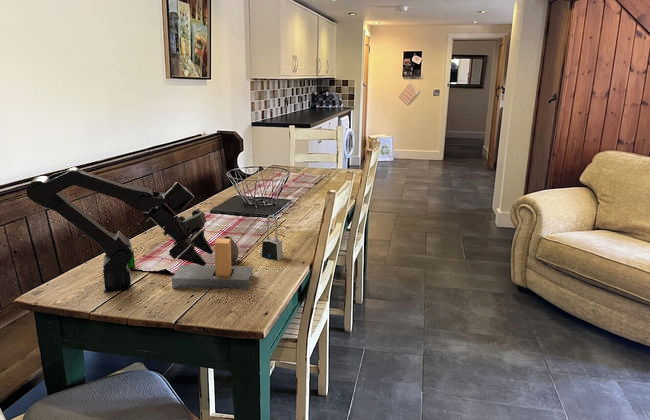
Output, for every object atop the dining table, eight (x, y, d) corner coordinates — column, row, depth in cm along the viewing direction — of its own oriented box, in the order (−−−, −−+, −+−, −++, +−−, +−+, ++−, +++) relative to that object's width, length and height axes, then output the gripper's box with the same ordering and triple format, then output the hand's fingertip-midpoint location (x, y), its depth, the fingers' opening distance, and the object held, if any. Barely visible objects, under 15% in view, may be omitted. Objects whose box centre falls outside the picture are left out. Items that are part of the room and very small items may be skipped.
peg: (216, 284, 142) (214, 243, 138) (218, 278, 146) (217, 238, 142) (229, 284, 142) (228, 243, 139) (231, 278, 146) (230, 238, 142)
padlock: (283, 256, 165) (283, 215, 160) (277, 261, 161) (277, 218, 157) (267, 253, 167) (266, 212, 163) (260, 257, 164) (260, 215, 159)
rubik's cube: (135, 266, 153) (133, 249, 152) (119, 272, 149) (117, 255, 147) (124, 262, 156) (122, 245, 155) (108, 267, 152) (106, 250, 150)
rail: (172, 287, 139) (171, 278, 138) (181, 273, 149) (181, 264, 148) (248, 289, 139) (248, 279, 139) (252, 275, 149) (252, 266, 148)
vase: (218, 267, 155) (217, 241, 152) (216, 259, 161) (216, 234, 158) (239, 265, 156) (239, 240, 154) (237, 257, 163) (237, 233, 160)
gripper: (179, 212, 128) (221, 253, 131) (196, 195, 146) (233, 231, 149) (151, 239, 130) (193, 278, 133) (171, 219, 148) (208, 254, 151)
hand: (208, 258), depth 142 cm, fingers open, 9 cm apart
